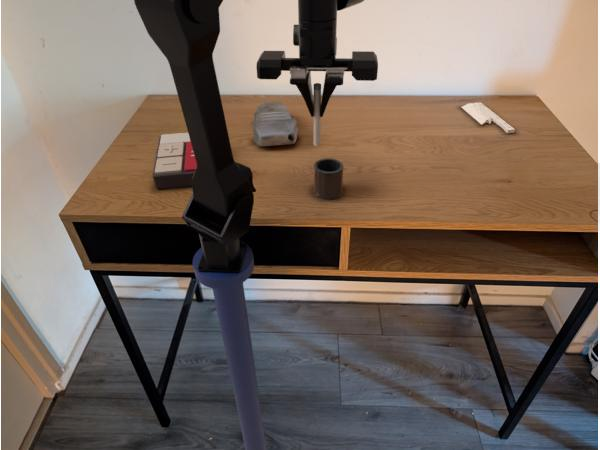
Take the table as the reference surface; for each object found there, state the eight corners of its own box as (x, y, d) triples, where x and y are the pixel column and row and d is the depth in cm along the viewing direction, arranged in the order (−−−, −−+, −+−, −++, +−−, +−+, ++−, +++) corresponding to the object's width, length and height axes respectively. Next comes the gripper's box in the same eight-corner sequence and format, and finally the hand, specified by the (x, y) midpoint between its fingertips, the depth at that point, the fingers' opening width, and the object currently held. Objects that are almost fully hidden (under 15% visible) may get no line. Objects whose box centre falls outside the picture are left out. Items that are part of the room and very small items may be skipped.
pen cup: (342, 200, 76) (343, 173, 73) (313, 199, 76) (313, 172, 73) (342, 184, 80) (343, 158, 77) (314, 183, 80) (314, 157, 77)
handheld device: (289, 109, 107) (289, 91, 104) (300, 149, 91) (300, 128, 88) (250, 112, 106) (249, 94, 103) (255, 152, 90) (253, 132, 87)
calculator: (151, 173, 77) (158, 131, 88) (156, 192, 80) (163, 150, 91) (213, 167, 78) (212, 127, 89) (216, 186, 81) (215, 145, 92)
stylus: (320, 146, 77) (320, 85, 70) (313, 146, 77) (313, 85, 70) (320, 143, 78) (321, 83, 71) (313, 143, 78) (313, 82, 71)
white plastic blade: (492, 135, 94) (494, 130, 94) (461, 107, 106) (462, 103, 105) (514, 132, 95) (515, 128, 94) (480, 105, 106) (481, 101, 106)
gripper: (378, 4, 70) (370, 98, 79) (263, 4, 71) (269, 96, 81) (382, 22, 61) (372, 125, 71) (251, 22, 62) (260, 122, 72)
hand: (317, 115), depth 74 cm, fingers closed on stylus, 1 cm apart
